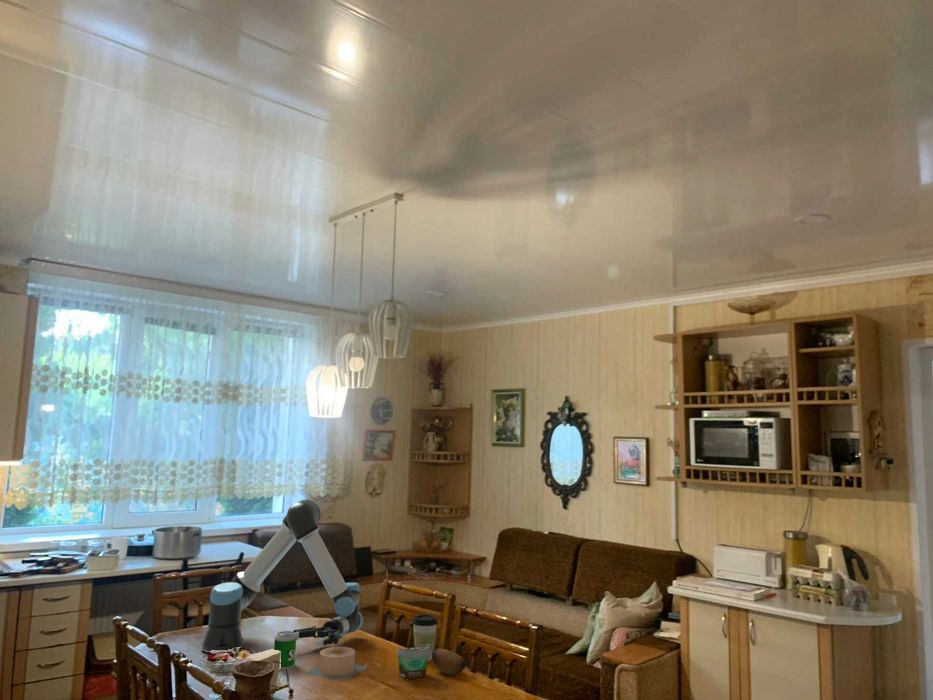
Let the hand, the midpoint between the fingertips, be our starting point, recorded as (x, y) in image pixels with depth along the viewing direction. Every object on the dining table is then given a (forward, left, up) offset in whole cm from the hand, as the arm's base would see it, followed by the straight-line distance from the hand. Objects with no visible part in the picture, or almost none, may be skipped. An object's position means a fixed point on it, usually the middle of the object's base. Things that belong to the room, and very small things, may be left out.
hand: (301, 642), depth 241 cm
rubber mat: (+19, -5, -6) cm, 21 cm away
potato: (+54, +13, -7) cm, 56 cm away
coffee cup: (+39, +23, -7) cm, 46 cm away
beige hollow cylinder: (+19, -5, -5) cm, 20 cm away
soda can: (0, -10, -7) cm, 12 cm away
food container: (+46, +3, -7) cm, 47 cm away
